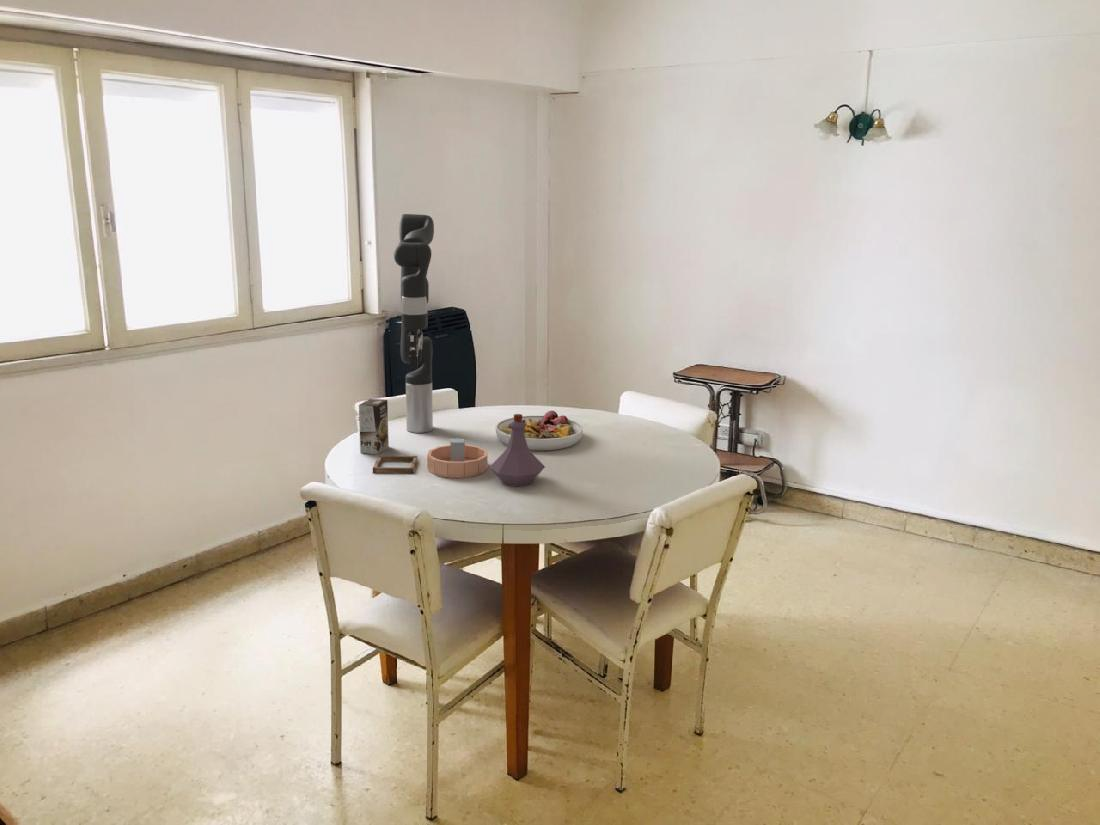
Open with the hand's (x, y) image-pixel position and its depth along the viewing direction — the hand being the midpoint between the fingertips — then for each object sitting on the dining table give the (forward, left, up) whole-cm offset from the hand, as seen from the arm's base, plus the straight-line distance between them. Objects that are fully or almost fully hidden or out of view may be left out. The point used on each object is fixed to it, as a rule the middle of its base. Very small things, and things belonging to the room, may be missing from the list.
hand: (415, 365), depth 240 cm
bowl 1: (+4, +13, -31) cm, 34 cm away
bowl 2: (-27, +39, -32) cm, 57 cm away
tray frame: (+3, -6, -31) cm, 32 cm away
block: (+4, +13, -30) cm, 33 cm away
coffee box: (-14, -15, -31) cm, 38 cm away
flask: (+15, +31, -31) cm, 46 cm away
